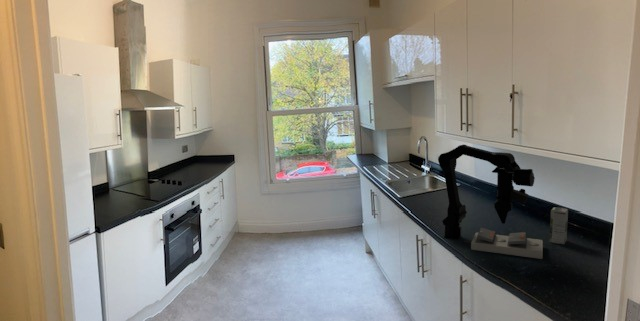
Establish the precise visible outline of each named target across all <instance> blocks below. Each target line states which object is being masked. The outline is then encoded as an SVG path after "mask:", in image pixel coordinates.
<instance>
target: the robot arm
mask: <svg viewBox="0 0 640 321" xmlns="http://www.w3.org/2000/svg"><path fill="white" fill-rule="evenodd" d="M462 156H468V157H470V158H475V159H478V160H481V161H485V162H488V163H490V164H492V166H494V167H495V168H494V169H493V170H492V171H491V172H492V173H494V174H497V176H496V177H497V181H496V182H497V183H496V192H497V193H496V194H497V195H496V200H495V201H494V207H493V208H494V210H495V211H496V213H497V215H498V218H499V219H500V223H501V224H504V225H505V224H506V221H507V217H508V214H509V212H511V211H512V209H513V203H514V202H515V201H517V202H520V203H521V204H526V202H527V199H528V198H529V194H528V193H526V189H525V188H520V189H519V190H518V189H514V188H515V187H514V184H515V185H516V186H523V187H531V188H532V187H533V186H534V184H535V180H536V178H535V175H534V169H532V168H521V167H520V165H519V164H518V162H517V161H516V158H515V156H514V154H513V153H510V152H497V151H494V152H493V151H489V150H485V149H482V148H477V147H474V146H470V145H467V144H460V145H458V146H456V147H455V148H453V149H451V150H449V151H447V152H443V153H441V154H439V156H438V157H437V161H438V164H439V167H440V169H441V171H442V173H443V174H444V179H445V185H446V186H445V187H446V193H447V199H448V205H447V206H448V207H447V215H446V217H445V218H444V219H442V225H443V226H444V236H443V238H444V239H452V240H459V239H460V238H461V237H462V226H461V223H462V221H463V220H464V219H465V218H466V217H467V214H468V213H467V210H466V204H462V202H461V201H460V196H459V188H458V182H457V176H456V167H457V159H459V158H461V157H462Z"/></svg>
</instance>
